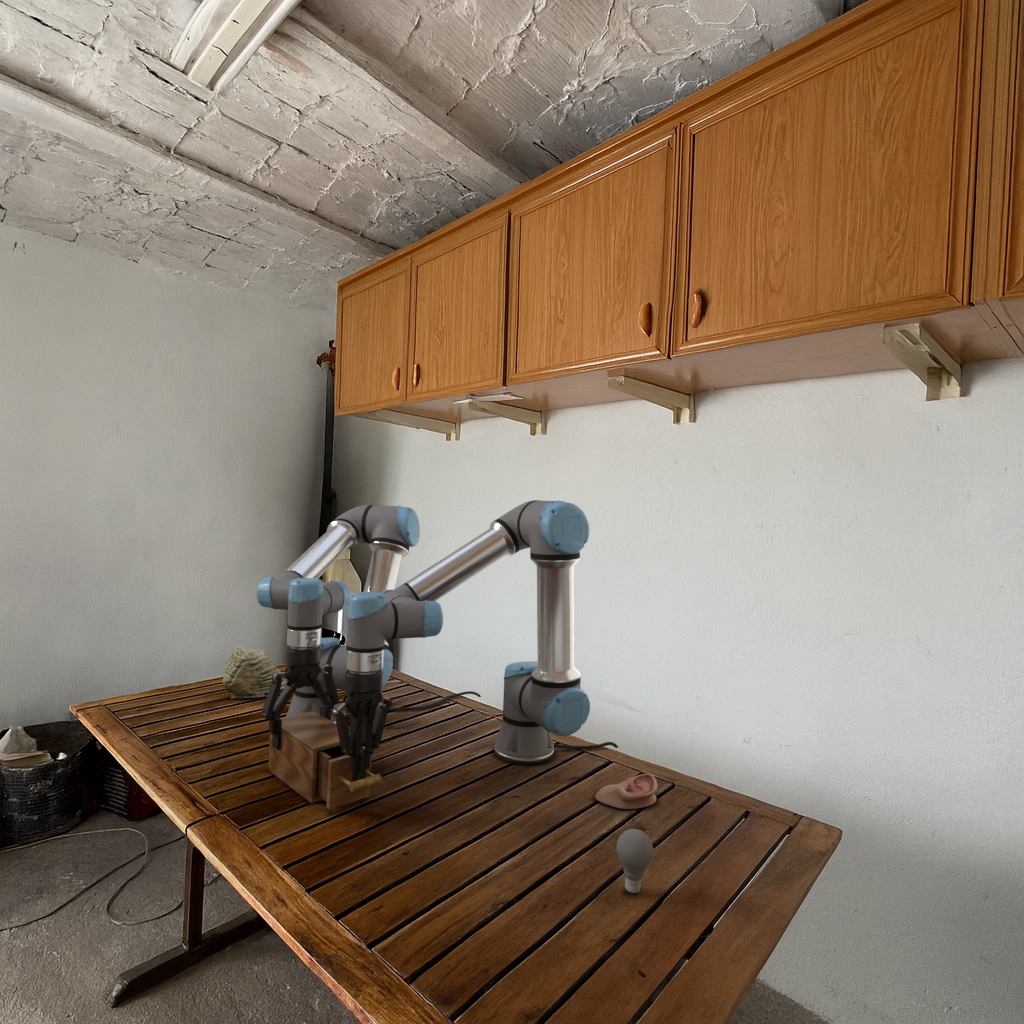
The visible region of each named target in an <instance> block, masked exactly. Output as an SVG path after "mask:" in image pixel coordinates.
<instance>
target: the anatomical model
mask: <svg viewBox="0 0 1024 1024" xmlns="http://www.w3.org/2000/svg"><path fill="white" fill-rule="evenodd" d="M657 791H658V782H657V779H656V777H655V776H654V775H653V774H651V773H642V774H639V775H635V776H632V777H630V778H628V779H626V780H624V781H622V782H620V783H616V784H607V785H605V786H602V787H601V788H600V789H599V790H598V791H596V793H595V795H594V798H595V800H596V801H597V802H599V803H602V804H604V805H607V806H610V807H613V808H617V809H621V810H632V809H640V808H646V807H650V806H652V805H654V804H655V803H656V802H657V796H656V792H657Z"/></svg>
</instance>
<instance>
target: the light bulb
mask: <svg viewBox="0 0 1024 1024" xmlns="http://www.w3.org/2000/svg"><path fill="white" fill-rule="evenodd" d="M615 849H616V854H617V857H618V859H619V861H620V863H621V865H622V867H623V873H624V874H623V875H624V876H625V878H624V888H625V890H627V891H628V892H630V893H634V894H635V893H639V892H640V891H641V889H642V887H641V886H642V879H643V877H644V875H645V871H646V868H647V867H648V866H649V864H650V863H651V861H652V859H653V855H654V847H653V843H652V841H651V838H649V836H648V835H647V834H646V833H645V832H643V831H642V830H641V829H636V828H629V829H627V830H625V831H623V832H622V833H621V834H620V835H619V837H618V839H617V841H616V847H615Z"/></svg>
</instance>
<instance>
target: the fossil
mask: <svg viewBox="0 0 1024 1024" xmlns="http://www.w3.org/2000/svg"><path fill="white" fill-rule="evenodd" d="M273 672H276V673H281V669H279V668H278V667H277V665H276V663H275V662H274V660H273V659H272V658H271V657H270V656H269V655H268V654H267V653H266V652H265V650H264V649H263V648H260V647H258V648H251V647H247V646H246V647H245V646H238V647H237V648H236V649H235V650H233V651H232V653H231V656H230V657H229V659H228V660H227V663H226V666H225V668H224V671H223V675H222V676H223V677H222V685H223V687H224V688H225V690H226V691H228V693H229V698H230V699H250V698H264V697H267V695H268V692H269V689H270V686H271V683H272V673H273ZM286 682H287V679H286V677H285V678H284V682H282V684H281V688H280V691H279V694H278V695H280V694H281V693H282V691H283V689H284V685H285V684H286Z"/></svg>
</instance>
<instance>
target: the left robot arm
mask: <svg viewBox="0 0 1024 1024" xmlns="http://www.w3.org/2000/svg"><path fill="white" fill-rule="evenodd" d="M420 526H421V525H420V520H419V517H418V515H417V512H416V510H414V509H413V508H412V507H409V506H401V505H381V504H380V505H379V504H377V505H376V504H363V505H358V506H356V507H354V508H353V507H352V508H351V509H348V510H347V511H345V512H343V513H342V514H340V515H339V516H337V517H336V518H335V519H334V520H332V521H331V522H330V523H329V525H327V528H326V532H325V533H323V534H322V536H320V537H319V538H318V539H317V540H316V541H315V542H314V543H313V544H312V545H311V546H310V547H309V548H308V549H307V550H306V551H305V552H304V553H302V554H301V555H300V556H299V557H298V558H297V559H296V560H294V562H293V563H292V564H290V565H289V566H288V568H287V569H285V570H284V571H283V573H281V574H280V575H279V576H278V577H274V576H271V577H266V578H263V579H261V580H260V582H259V584H258V585H257V587H256V593H255V594H256V595H255V596H256V599H257V602H258V604H259V605H260V606H261V607H263V608H268V609H273V610H285V611H287V632H286V645H287V648H286V653H285V654H286V657H285V664H286V667H285V670H284V671H282V672H281V671H280V672H281V673H276V672H273V673H272V683H271V686H270V689H269V692H268V695H267V696H266V698H265V700H264V703H263V707H262V709H261V711H260V716H261V717H262V718H264V719H265V720H269V722H268V723H269V724H268V732H269V734H270V733H271V734H272V735H273V736H272V746H273V747H274V748H276V749H277V750H278V749H281V728H282V720H281V719H280V718H281V717H280V716H281V715H282V714H283V712H284V709H285V708H286V706H287V704H288V703H289V701H290V699H291V698H292V699H291V702H290V703H289V705H288V711H287V713H286V715H285V717H289V716H293V715H298V714H302V713H307V712H311V711H314V712H316V713H317V714H319V715H321V716H323V717H325V718H326V719H328V720H330V721H332V722H334V723H335V724H336V719H335V718H334V716H333V715H332V713H331V710H332V709H333V708H336V709H337V708H338V707H339V706H340V705H341V702H340V698H339V695H338V690H344V691H345V689H344V683H345V672H346V671H347V669H346V668H345V660H346V646H347V640H346V641H345V645H341V641H340V639H339V638H338V637H322V632H323V631H322V629H323V628H322V627H323V616H327V615H331V614H336V613H338V612H340V611H341V610H344V609H346V608H347V607H348V604H349V598H350V596H351V595H352V594H351V589H350V588H349V586H348V585H347V584H346V583H344V582H343V581H340V580H335V581H334V580H330V581H328V582H327V581H324V580H322V579H320V578H321V576H323V575H324V573H326V572H327V571H328V569H329V568H330V567H331V566H332V565H333V564H334V563H335V562H336V561H337V560H338V559H339V558H340V557H341V556H342V555H343V554H344V553H345V552H346V551H348V550H352V549H354V547H356V545H360V544H369V545H368V548H369V549H370V550H371V552H372V554H371V559H370V563H369V567H368V571H367V574H366V581H365V585H364V587H363V592H379V593H380V592H382V591H385V590H394V589H396V588H397V583H398V579H399V573H400V570H401V564H402V559H404V558H405V557H406V556H408V555H409V552H410V548H414V547H416V546H417V545H418V543H419V541H420V535H421V527H420ZM384 645H385V647H384V661H383V668H382V669H381V670H382V671H383V686H382V689H383V688H384V687H385V685H386V684H387V683H388V681H389V679H390V677H391V675H392V671H393V668H394V667H393V666H394V656H393V653H392V652H391V651H390V650H389V648H390V647H389V643H388V642H387V639H386V640H385V643H384ZM284 678H285V679H286V684H285V685H284V689H283V691H282V693H280V694H279V691H280V688H281V684H282V682H284ZM464 695H473V696H474V695H475V696H476V697H478V698H481V697H482V695H481V694H479V693H478V692H476V691H473V690H472V691H471V690H468V691H463V692H458V693H455V694H454V693H453V694H449V695H447V696H445V697H444V698H442V699H440V700H438V701H436V702H433V703H430V704H427V705H422V706H412V707H410V706H408V707H407V706H405V707H403V706H402V707H390V709H389V710H388V712H394V711H417V710H418V711H419V710H424V709H425V710H426V709H430V708H432V707H434V706H437V705H439V704H442V703H444V702H445V701H447V700H449V699H451V698H455V697H460V696H464ZM292 696H293V697H292ZM375 713H376V710H375ZM346 714H350V713H349V712H348V710H347V709H346Z"/></svg>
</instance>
